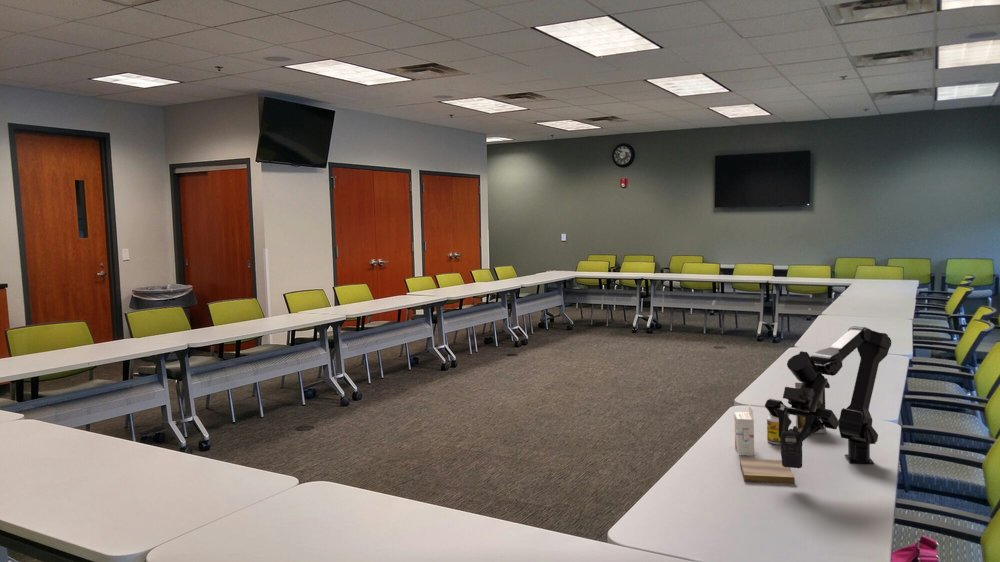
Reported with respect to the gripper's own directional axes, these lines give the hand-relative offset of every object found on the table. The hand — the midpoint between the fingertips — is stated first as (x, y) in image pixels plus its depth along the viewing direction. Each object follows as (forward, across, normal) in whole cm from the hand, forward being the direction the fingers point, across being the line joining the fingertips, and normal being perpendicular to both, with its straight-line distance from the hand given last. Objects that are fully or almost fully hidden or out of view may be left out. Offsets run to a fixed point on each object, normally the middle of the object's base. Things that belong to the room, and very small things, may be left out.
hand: (789, 439), depth 181 cm
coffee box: (-27, -23, +47) cm, 59 cm away
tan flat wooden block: (+6, -10, +12) cm, 17 cm away
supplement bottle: (-13, -24, +33) cm, 43 cm away
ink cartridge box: (-2, -25, +22) cm, 33 cm away
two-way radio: (+5, 0, +7) cm, 8 cm away
